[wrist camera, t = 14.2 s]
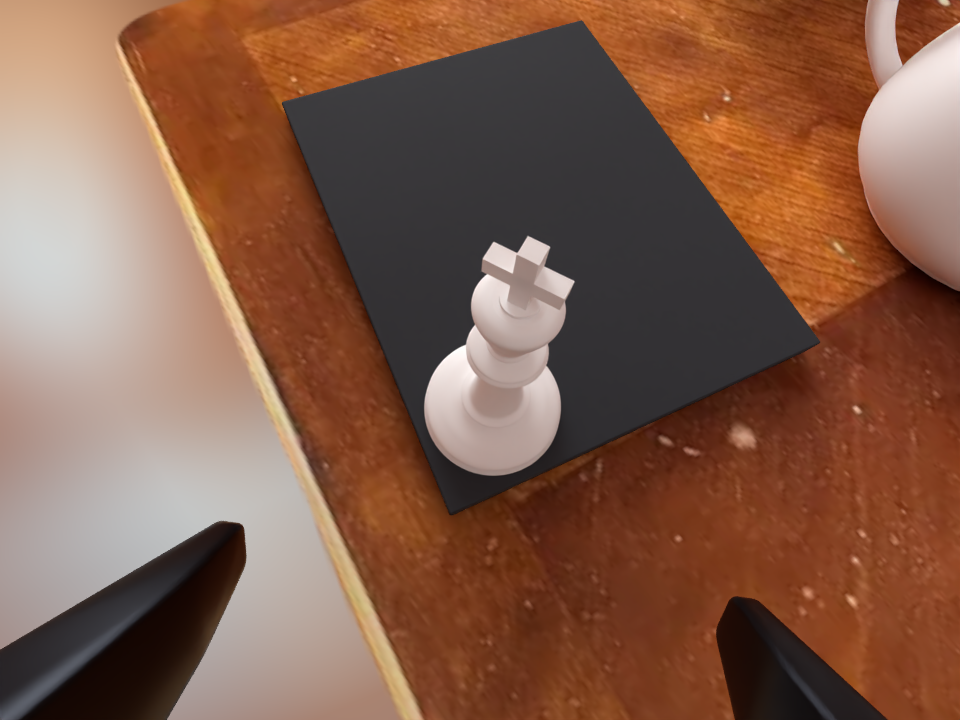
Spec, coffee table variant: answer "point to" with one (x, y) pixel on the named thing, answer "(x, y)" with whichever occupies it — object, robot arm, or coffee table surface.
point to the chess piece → (502, 367)
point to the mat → (540, 235)
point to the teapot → (914, 145)
